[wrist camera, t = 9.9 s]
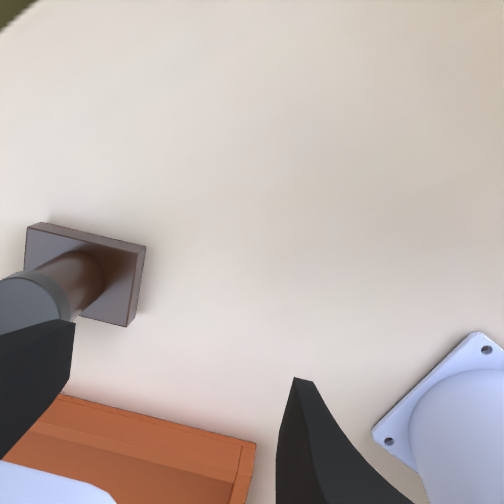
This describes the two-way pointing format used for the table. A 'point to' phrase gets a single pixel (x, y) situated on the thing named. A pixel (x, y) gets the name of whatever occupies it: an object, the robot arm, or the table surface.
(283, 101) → the table surface
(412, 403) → the robot arm
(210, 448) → the tray
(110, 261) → the stamp
